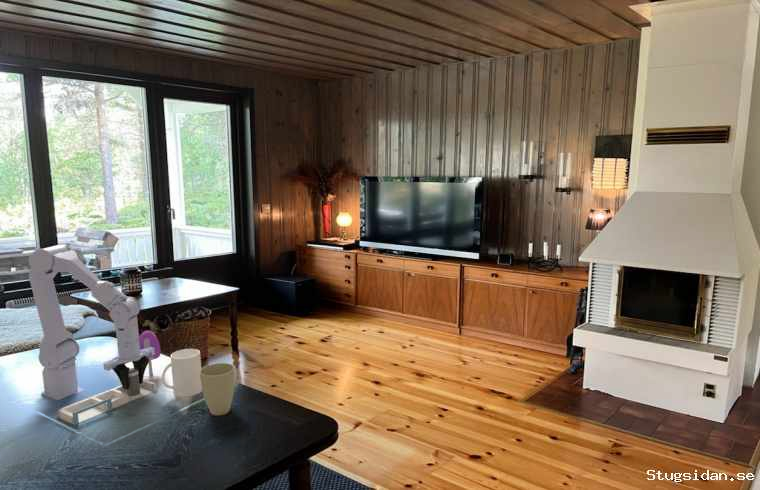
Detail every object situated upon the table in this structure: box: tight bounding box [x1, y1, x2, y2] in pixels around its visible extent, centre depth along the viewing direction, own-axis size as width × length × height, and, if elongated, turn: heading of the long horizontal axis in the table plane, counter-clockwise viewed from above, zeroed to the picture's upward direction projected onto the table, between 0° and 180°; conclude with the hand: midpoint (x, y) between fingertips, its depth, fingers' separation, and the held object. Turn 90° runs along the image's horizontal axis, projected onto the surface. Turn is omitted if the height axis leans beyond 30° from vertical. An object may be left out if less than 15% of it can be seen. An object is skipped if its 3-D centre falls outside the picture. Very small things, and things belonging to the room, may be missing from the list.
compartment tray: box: [56, 378, 158, 426], centre depth 147 cm, size 8×24×4 cm, turn 147°
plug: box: [126, 367, 140, 396], centre depth 153 cm, size 4×4×7 cm
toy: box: [139, 330, 161, 376], centre depth 166 cm, size 7×7×15 cm
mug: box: [161, 348, 203, 398], centre depth 153 cm, size 12×8×12 cm
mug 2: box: [200, 362, 236, 416], centre depth 143 cm, size 11×10×12 cm
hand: (132, 385), depth 153 cm, fingers open, 4 cm apart
